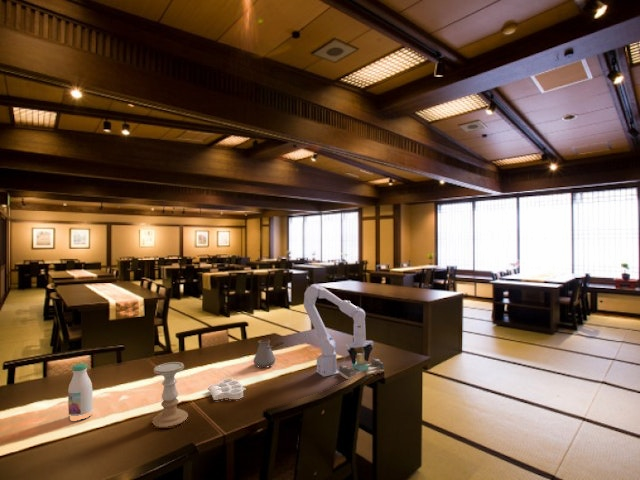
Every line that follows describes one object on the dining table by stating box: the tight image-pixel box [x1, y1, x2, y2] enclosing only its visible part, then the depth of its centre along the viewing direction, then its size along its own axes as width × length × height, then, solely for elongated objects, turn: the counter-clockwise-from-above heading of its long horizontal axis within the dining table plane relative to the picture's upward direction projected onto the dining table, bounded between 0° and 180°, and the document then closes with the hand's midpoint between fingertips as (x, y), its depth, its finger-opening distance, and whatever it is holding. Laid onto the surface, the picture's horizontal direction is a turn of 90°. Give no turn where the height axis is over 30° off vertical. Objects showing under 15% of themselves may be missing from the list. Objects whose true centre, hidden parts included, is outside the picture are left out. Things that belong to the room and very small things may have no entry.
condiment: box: [352, 336, 364, 357], centre depth 206 cm, size 7×8×12 cm
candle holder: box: [151, 361, 189, 427], centre depth 134 cm, size 12×12×20 cm
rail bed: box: [338, 357, 385, 380], centre depth 177 cm, size 21×9×5 cm, turn 117°
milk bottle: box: [67, 362, 94, 416], centre depth 138 cm, size 8×8×20 cm
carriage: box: [351, 353, 369, 371], centre depth 177 cm, size 5×7×7 cm
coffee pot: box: [253, 339, 287, 368], centre depth 188 cm, size 21×12×15 cm, turn 49°
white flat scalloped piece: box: [207, 378, 247, 401], centre depth 158 cm, size 3×18×15 cm
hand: (360, 361), depth 177 cm, fingers open, 7 cm apart
